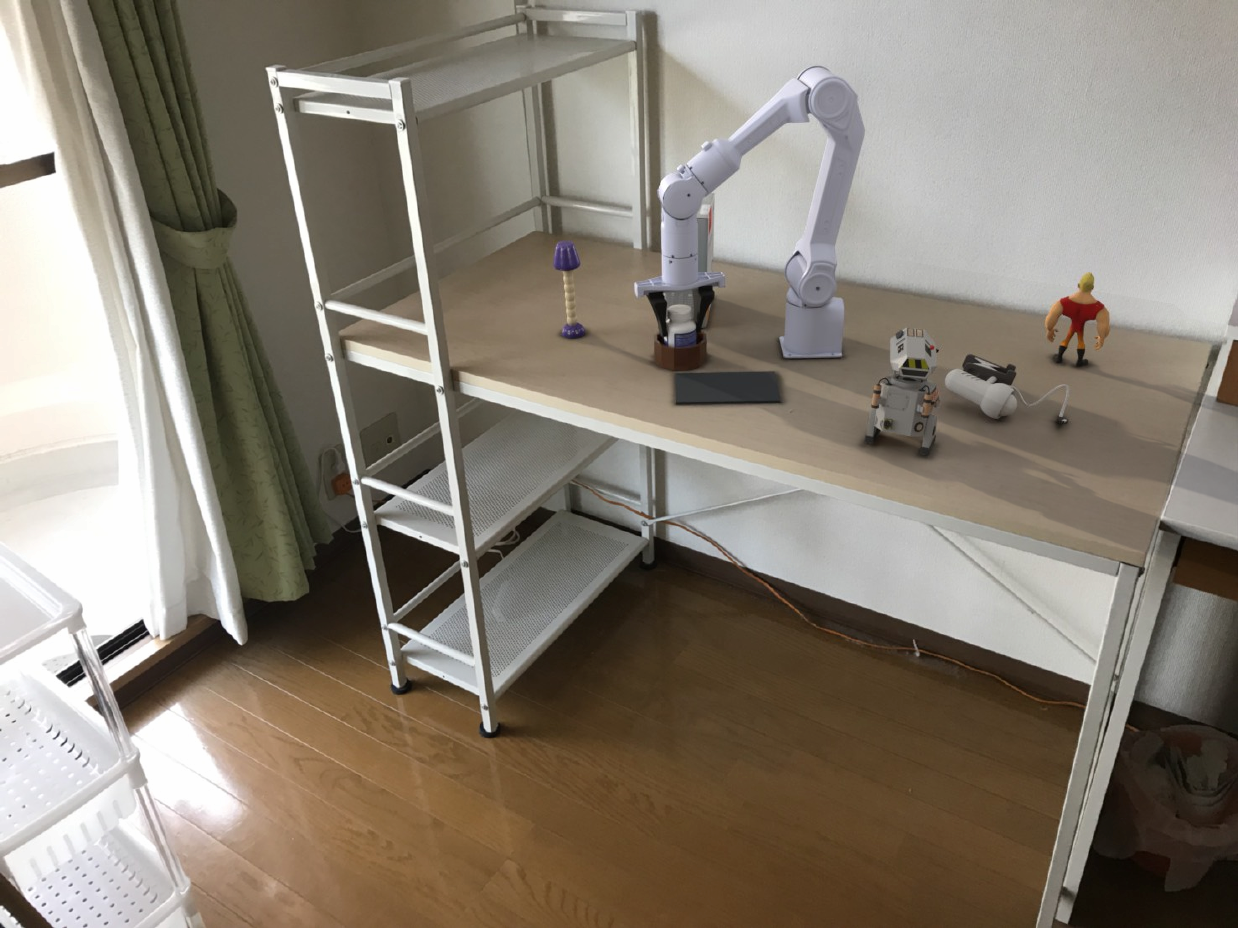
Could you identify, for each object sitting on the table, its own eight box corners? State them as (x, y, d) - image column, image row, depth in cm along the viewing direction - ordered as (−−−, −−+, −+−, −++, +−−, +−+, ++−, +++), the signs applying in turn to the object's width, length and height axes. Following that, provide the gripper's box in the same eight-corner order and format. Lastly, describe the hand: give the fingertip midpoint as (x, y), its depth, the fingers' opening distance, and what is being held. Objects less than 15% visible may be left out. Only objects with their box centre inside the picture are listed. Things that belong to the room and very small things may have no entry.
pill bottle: (702, 356, 166) (702, 306, 161) (686, 368, 162) (685, 317, 157) (675, 349, 168) (674, 300, 164) (658, 361, 165) (657, 311, 160)
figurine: (944, 425, 143) (958, 329, 135) (925, 463, 134) (939, 363, 127) (881, 413, 147) (892, 319, 139) (859, 449, 138) (869, 351, 130)
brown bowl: (705, 347, 169) (705, 325, 167) (707, 369, 161) (707, 347, 159) (654, 348, 169) (654, 326, 167) (654, 370, 162) (653, 348, 160)
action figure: (1103, 363, 158) (1124, 273, 150) (1099, 372, 155) (1121, 281, 147) (1040, 352, 162) (1058, 264, 154) (1036, 361, 159) (1053, 272, 152)
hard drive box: (707, 329, 175) (708, 218, 165) (663, 328, 176) (662, 218, 166) (713, 295, 188) (715, 191, 178) (673, 294, 189) (672, 190, 179)
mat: (774, 373, 159) (774, 371, 159) (780, 402, 151) (781, 400, 151) (674, 375, 160) (674, 373, 160) (675, 404, 152) (675, 402, 151)
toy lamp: (581, 340, 173) (575, 248, 164) (555, 339, 174) (548, 247, 165) (587, 329, 177) (582, 238, 168) (562, 328, 178) (555, 237, 169)
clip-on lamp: (1071, 425, 147) (960, 372, 155) (1091, 389, 144) (976, 336, 151) (1048, 453, 139) (932, 395, 146) (1069, 415, 135) (949, 358, 143)
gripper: (716, 239, 160) (715, 317, 167) (628, 249, 158) (631, 328, 165) (730, 253, 154) (728, 333, 161) (639, 264, 152) (641, 345, 159)
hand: (680, 332), depth 163 cm, fingers closed on pill bottle, 5 cm apart
